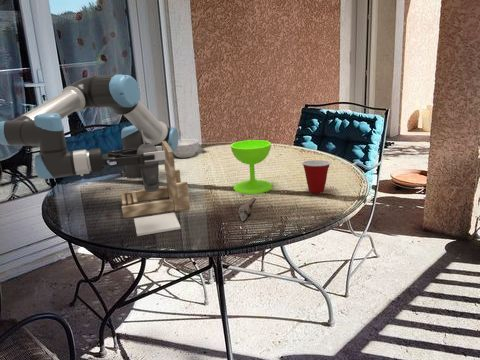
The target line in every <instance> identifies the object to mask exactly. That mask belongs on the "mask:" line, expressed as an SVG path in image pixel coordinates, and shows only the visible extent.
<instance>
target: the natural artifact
mask: <svg viewBox="0 0 480 360" xmlns="http://www.w3.org/2000/svg"><path fill="white" fill-rule="evenodd" d="M255 201H256V197H252V198H251V199H250V200H249V201H247V202H246V203H244V204H242V205H240V207H239V208H238V212H237V213H238V216H239V218H240V221H241V222H245V221H246V219H247V218H249V216H248V215H250V213H251V207H250V206H252V205H253V203H254V202H255Z"/></svg>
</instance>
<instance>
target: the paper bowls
mask: <svg viewBox="0 0 480 360" xmlns="http://www.w3.org/2000/svg"><path fill="white" fill-rule="evenodd" d="M199 150H200V145H199V140H198V139H195V138H180V139H179V138H178V146H177V149H176V151H175V152H173V155H175V157H176V158H180V159H181V158H182V159H184V158H186V159H187V158H191V157H194V156H195V155H196V153H197V152H198V151H199Z"/></svg>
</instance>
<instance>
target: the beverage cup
mask: <svg viewBox="0 0 480 360" xmlns="http://www.w3.org/2000/svg"><path fill="white" fill-rule="evenodd" d="M141 134H142V138H143V142H144V144H142V145H141V146H140V147H139V148H138V150H137V154H144V153H149V152H157V151H158V150H157V148H156V147H155V146H154V145H153V144H151V143H145V140H144V136H143V131H142V130H141ZM159 161H160V160H157V161H149V162H145V165H142V164H139V165H140V170H141V175H142V178H141V179H142V183H143V188H144V190H145V191H146V192H155V191H158V190H159V188H160V171H159V170H160V165H159Z"/></svg>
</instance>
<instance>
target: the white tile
mask: <svg viewBox="0 0 480 360" xmlns="http://www.w3.org/2000/svg"><path fill="white" fill-rule="evenodd" d="M133 220H134V221H133V222H134V226H135V232H136V237H140V236H145V235H151V234H157V233H159V234H160V233H163V232H165V233H166V232H170V231H175V230H176V231H177V230H181V229H182V228H181V225H180V223H179V220H178V217H177V215H176V213H175V212H170V213H168V212H167V213H163V214H162V213H161V214H155V215H150V216H149V215H147V216H143V217H137V218H135V217H134V218H133Z"/></svg>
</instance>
